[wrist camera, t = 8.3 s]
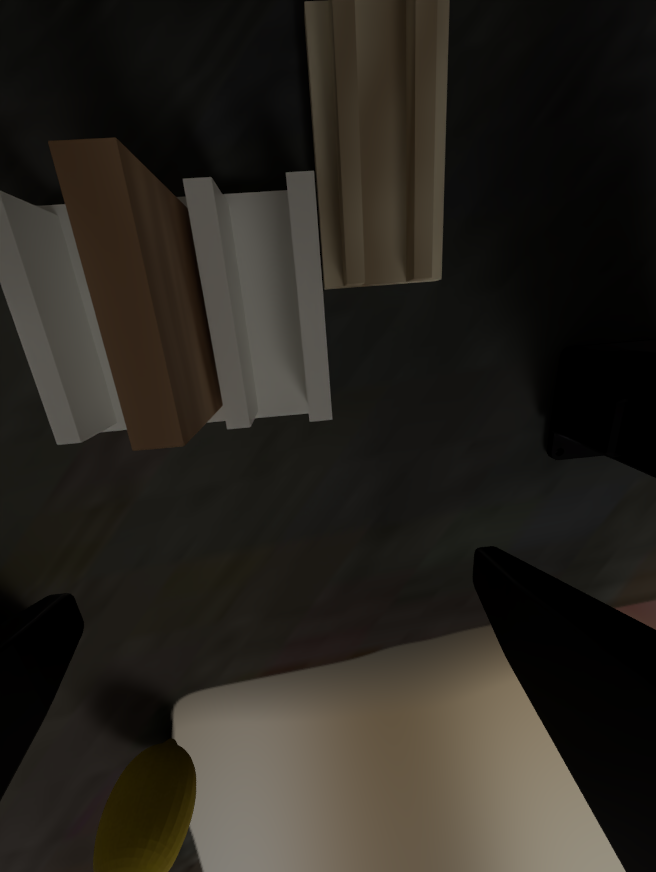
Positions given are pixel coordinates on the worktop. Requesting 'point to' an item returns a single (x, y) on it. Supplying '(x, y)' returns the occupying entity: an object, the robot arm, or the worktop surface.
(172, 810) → the lemon
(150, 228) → the board
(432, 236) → the stand
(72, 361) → the rack
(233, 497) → the worktop surface
